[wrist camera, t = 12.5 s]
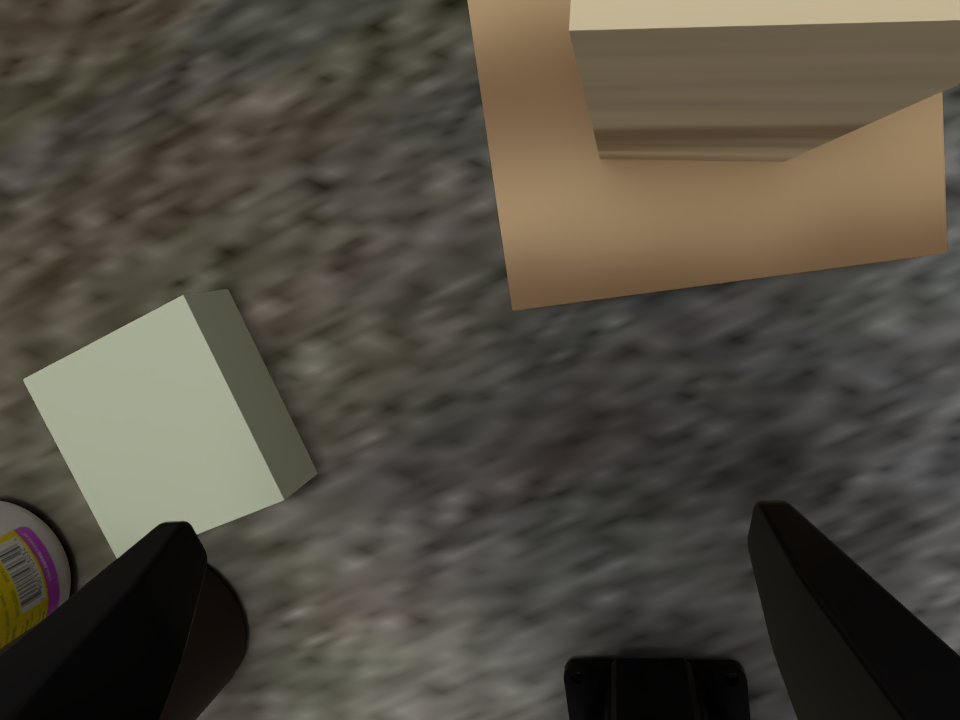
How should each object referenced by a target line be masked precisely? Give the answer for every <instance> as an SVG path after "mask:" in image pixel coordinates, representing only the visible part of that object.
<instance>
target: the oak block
mask: <svg viewBox="0 0 960 720" xmlns="http://www.w3.org/2000/svg"><path fill="white" fill-rule="evenodd" d="M570 5H571V0H468V7H469V14H470V21H471V28H472V35H473V42H474V49H475V56H476V62H477V69H478V76H479V83H480V90H481V97H482V104H483V111H484V118H485V125H486V132H487V139H488V145H489V152H490V159H491V166H492V173H493V180H494V187H495V194H496V201H497V208H498V215H499V222H500V228H501V235H502V242H503V249H504V256H505V263H506V270H507V277H508V284H509V291H510V298H511V305H512V311H515V310H522V309H530V308H538V307H545V306H553V305H560V304H568V303H575V302H583V301H590V300H598V299H605V298H613V297H620V296H628V295H635V294H643V293H650V292H658V291H665V290H673V289H681V288H688V287H696V286H703V285H711V284H718V283H726V282H733V281H741V280H748V279H756V278H763V277H771V276H778V275H786V274H793V273H801V272H808V271H816V270H823V269H831V268H839V267H846V266H854V265H861V264H869V263H876V262H884V261H891V260H899V259H906V258H914V257H921V256H929V255H936V254H944V253H947V227H946V195H945V163H944V130H943V98H942V92H940V93H938V94H936V95H933V96H931V97H929V98H927V99H924V100H922V101H920V102H918V103H915V104H913V105H911V106H909V107H906V108H904V109H902V110H900V111H897V112H895V113H893V114H891V115H888V116H886V117H884V118H882V119H879V120H877V121H875V122H873V123H870V124H868V125H866V126H864V127H861V128H859V129H857V130H855V131H852V132H850V133H848V134H846V135H843V136H841V137H839V138H836V139H834V140H832V141H830V142H827V143H825V144H823V145H821V146H818V147H816V148H814V149H812V150H809V151H807V152H805V153H803V154H800V155H798V156H796V157H794V158H791V159H789V160H787V161H785V162H769V161H697V160H625V159H600V157H599V153H598V148H597V144H596V140H595V136H594V132H593V128H592V124H591V120H590V115H589V111H588V107H587V103H586V99H585V95H584V91H583V87H582V82H581V78H580V74H579V70H578V66H577V62H576V58H575V54H574V49H573V45H572V41H571V37H570V33H569V21H570Z"/></svg>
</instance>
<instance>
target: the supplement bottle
mask: <svg viewBox="0 0 960 720" xmlns="http://www.w3.org/2000/svg"><path fill="white" fill-rule="evenodd" d="M70 587H71V573H70V566H69V562H68V559H67V556H66V553H65V551H64V549H63V547H62V545H61V543H60V541H59V540H58V538H57V536H56V535H55V534H54V532H53V531H52V530H51V529H50V528H49V527H48V526H47V525H46V524H45V523H44V522H43V521H42V520H41V519H40V518H38V517H37V516H36V515H34V514H33V513H31V512H30V511H28V510H26V509H24V508H22V507H20V506H18V505H15V504H12V503H9V502H4V501H0V649H1V648H2V647H3V646H5V645H6V644H8V643H9V642H11V641H12V640H14V639H15V638H17V637H18V636H20V635H21V634H23V633H24V632H26V631H27V630H29V629H30V628H32V627H33V626H35V625H36V624H38V623H39V622H41V621H42V620H43V619H45V618H46V617H47V616H48V615H49V614H51V613H52V612H53V611H54V610H56V609H57V608H58V607H59V606H60V605H62V604H63V603H64V602H65V601H66V600H68V598H69V594H70Z"/></svg>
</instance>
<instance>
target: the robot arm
mask: <svg viewBox="0 0 960 720" xmlns="http://www.w3.org/2000/svg"><path fill="white" fill-rule="evenodd" d="M748 549H749V554H750V558H751V562H752V567H753V571H754V575H755V579H756V583H757V587H758V591H759V596H760V600H761V604H762V608H763V612H764V616H765V621H766V625H767V629H768V633H769V637H770V641H771V644H772V648H773V651H774V654H775V657H776V660H777V663H778V666H779V669H780V672H781V675H782V677H783V680H784V683H785V686H786V688H787V691H788V694H789V697H790V699H791V702H792V705H793V708H794V710H795V713H796V716H797V719H798V720H960V656H959V655H958V654H957V653H956V652H955V651H954V650H953V649H951V648H950V647H949V646H948V645H947V644H946V643H945V642H944V641H942V640H941V639H940V638H939V637H938V636H937V635H936V634H935V633H934V632H932V631H931V630H930V629H929V628H928V627H927V626H926V625H925V624H923V623H922V622H921V621H920V620H919V619H918V618H917V617H916V616H914V615H913V614H912V613H911V612H910V611H909V610H908V609H907V608H906V607H904V606H903V605H902V604H901V603H900V602H899V601H898V600H897V599H895V598H894V597H893V596H892V595H891V594H890V593H889V592H888V591H887V590H885V589H884V588H883V587H882V586H881V585H880V584H879V583H878V582H876V581H875V580H874V579H873V578H872V577H871V576H870V575H869V574H867V573H866V572H865V571H864V570H863V569H862V568H861V567H860V566H859V565H857V564H856V563H855V562H854V561H853V560H852V559H851V558H850V557H848V556H847V555H846V554H845V553H844V552H843V551H842V550H841V549H840V548H838V547H837V546H836V545H835V544H834V543H833V542H832V541H831V540H829V539H828V538H827V537H826V536H825V535H824V534H823V533H822V532H821V531H819V530H818V529H817V528H816V527H815V526H814V525H813V524H812V523H810V522H809V521H808V520H807V519H806V518H805V517H804V516H803V515H801V514H800V513H799V512H798V511H797V510H796V509H795V508H794V507H793V506H791V505H790V504H789V503H787V502H785V501H782V500H773V501H759V502H757V503H756V505H755V507H754V510H753V515H752V520H751V525H750V529H749V534H748ZM206 567H207V555H206V551H205V549H204V547H203V545H202V544H201V542H200V540H199V538H198V536H197V534H196V532H195V531H194V529H193V527H192V525H191V524H190V523H188V522H187V521H168V522H163V523H161V524H159V525H158V526H156V527H155V528H154V529H153V530H151V531H150V532H149V533H148V534H146V535H145V536H144V537H143V538H142V539H140V540H139V541H138V542H137V543H136V544H134V545H133V546H132V547H131V548H129V549H128V550H127V551H126V552H125V553H123V554H122V555H121V556H120V557H119V558H117V559H116V560H115V561H114V562H113V563H111V564H110V565H109V566H108V567H106V568H105V569H104V570H103V571H102V572H100V573H99V574H98V575H97V576H96V577H94V578H93V579H92V580H91V581H89V582H88V583H87V584H86V585H85V586H83V587H82V588H81V589H80V590H79V591H77V592H76V593H75V594H74V595H72V596H71V597H70V598H69V599H68V600H66V601H65V602H64V603H63V604H62V605H60V606H59V607H58V608H57V609H56V610H54V611H53V612H52V613H51V614H49V615H48V616H47V617H46V618H45V619H43V620H42V621H41V622H40V623H39V624H37V625H36V626H35V627H34V628H32V629H31V630H30V631H29V632H28V633H26V634H25V635H24V636H23V637H22V638H20V639H19V640H18V641H17V642H15V643H14V644H13V645H12V646H11V647H9V648H8V649H7V650H6V651H5V652H3V653H2V654H1V655H0V720H160V719H161V716H162V713H163V711H164V708H165V705H166V703H167V700H168V697H169V694H170V692H171V689H172V686H173V683H174V681H175V678H176V675H177V673H178V670H179V667H180V664H181V661H182V658H183V655H184V652H185V648H186V645H187V641H188V637H189V634H190V630H191V626H192V622H193V618H194V614H195V610H196V606H197V602H198V598H199V595H200V591H201V587H202V583H203V579H204V575H205V571H206ZM574 672H579V673H581V674H582V675H583V676H581V677H576V676H574V675H573V674H572V673H574ZM729 673H734V674H736V675H737V676H735V677H734V678H727V677H725V676H726V675H727V674H729ZM564 683H565V690H566V697H567V704H568V712H569V719H570V720H750V711H749V699H748V687H747V679H746V675H745V672H744V669H743V667H742V666H741V664H740V663H738V662H736V661H734V660H684V659H660V658H618V659H575V660H571V661H569V662H568V663H567V664H566V666H565V671H564Z"/></svg>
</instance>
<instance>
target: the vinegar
mask: <svg viewBox="0 0 960 720" xmlns="http://www.w3.org/2000/svg"><path fill="white" fill-rule="evenodd" d="M39 623H40V622H39ZM39 623H38V624H39ZM36 625H37V624H36ZM36 625H35V626H36ZM35 626H33V627H32V628H34V627H35ZM32 628H30V629H29V630H27V631H26V632H24V633H23V634H21V635H20V636H18V637H17V638H15V639H14V640H12V641H11V642H9V643H8V644H6V645H5V646H3V647H2V648H1V649H0V655H1V654H2V653H3V652H5V651H6V650H7V649H8V648H9V647H11V646H12V645H13V644H14V643H15V642H17V641H18V640H19V639H20V638H22V637H23V636H24V635H25V634H26V633H28V632H29V631H30V630H31V629H32ZM245 638H246V634H245V629H244V623H243V618H242V613H241V611H240V609H239V607H238V605H237V603H236V601H235V600H234V598H233V596H232V594H231V592H230V591H229V590H228V588H227V587H226V586H225V585H224V584H223V583H222V582H221V581H220V579H219V578H218V577H217V576H216V575H215V574H214V573H213V572H211V571H210V570H208V569H207V568H206V571H205V575H204V579H203V583H202V587H201V591H200V595H199V598H198V602H197V606H196V610H195V614H194V618H193V622H192V626H191V630H190V634H189V637H188V641H187V645H186V648H185V652H184V655H183V658H182V661H181V664H180V667H179V670H178V673H177V675H176V678H175V681H174V683H173V686H172V689H171V692H170V694H169V697H168V700H167V703H166V705H165V708H164V711H163V713H162V716H161V719H160V720H196V719H197V718H198V716H199V715H200V714H201V713H202V712H203V711H204V710H205V708H206V707H207V706H208V705H209V704H210V703H211V701H212V700H213V699H214V698H215V697H216V696H217V694H218V693H219V692H220V691H221V690H222V689H223V688H224V686H225V685H226V684H227V683H228V682H229V681H230V679H231V678H232V677H233V675H234V673H235V671H236V669H237V668H238V666H239V664H240V662H241V660H242V658H243V654H244V646H245Z"/></svg>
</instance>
